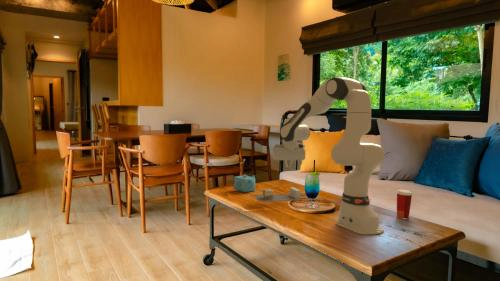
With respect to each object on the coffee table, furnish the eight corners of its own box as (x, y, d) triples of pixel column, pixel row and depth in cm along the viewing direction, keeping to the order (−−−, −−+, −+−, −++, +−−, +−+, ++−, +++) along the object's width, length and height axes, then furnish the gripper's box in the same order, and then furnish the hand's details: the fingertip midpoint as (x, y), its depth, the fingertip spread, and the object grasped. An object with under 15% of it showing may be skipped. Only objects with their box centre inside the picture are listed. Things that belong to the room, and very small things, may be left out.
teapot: (226, 191, 217) (227, 174, 216) (247, 187, 229) (248, 171, 228) (242, 196, 205) (243, 178, 204) (263, 192, 217) (264, 175, 216)
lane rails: (320, 200, 202) (320, 198, 201) (257, 203, 190) (257, 201, 190) (309, 194, 215) (309, 193, 215) (250, 197, 203) (250, 195, 203)
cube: (273, 198, 198) (273, 190, 197) (265, 199, 196) (265, 190, 196) (270, 196, 202) (270, 188, 202) (262, 197, 201) (262, 189, 200)
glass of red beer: (409, 216, 175) (411, 190, 174) (412, 220, 168) (414, 193, 167) (393, 214, 177) (395, 188, 176) (395, 218, 170) (397, 191, 169)
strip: (300, 200, 200) (301, 190, 199) (259, 202, 192) (260, 192, 191) (293, 196, 210) (293, 186, 210) (253, 197, 202) (254, 188, 202)
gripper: (275, 145, 194) (274, 168, 195) (307, 145, 200) (305, 168, 201) (271, 143, 200) (270, 166, 201) (302, 144, 206) (301, 166, 207)
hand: (288, 167), depth 202 cm, fingers closed
